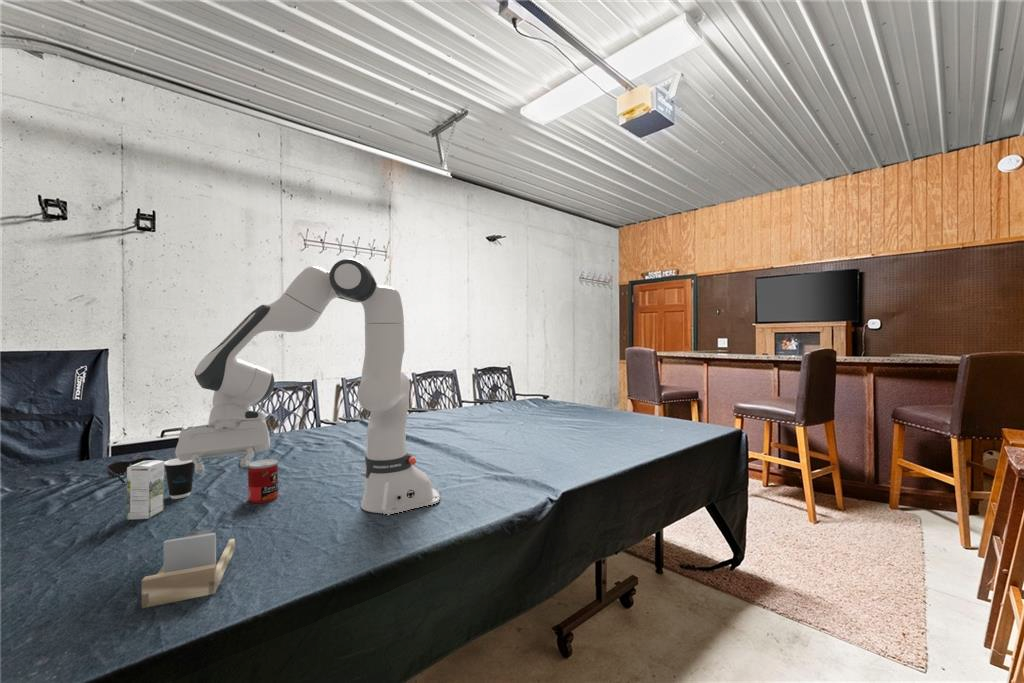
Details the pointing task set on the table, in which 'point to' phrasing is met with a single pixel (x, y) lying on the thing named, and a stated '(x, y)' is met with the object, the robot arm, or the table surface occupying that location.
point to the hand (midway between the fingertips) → (221, 468)
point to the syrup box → (145, 489)
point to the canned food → (262, 480)
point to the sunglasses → (123, 467)
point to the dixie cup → (179, 477)
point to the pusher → (189, 552)
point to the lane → (185, 581)
